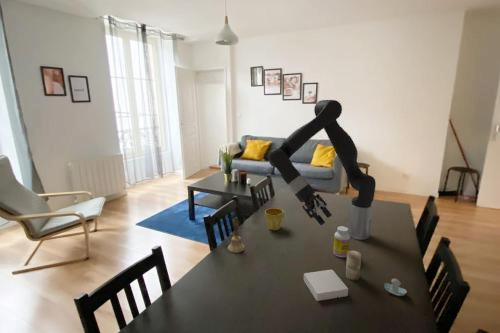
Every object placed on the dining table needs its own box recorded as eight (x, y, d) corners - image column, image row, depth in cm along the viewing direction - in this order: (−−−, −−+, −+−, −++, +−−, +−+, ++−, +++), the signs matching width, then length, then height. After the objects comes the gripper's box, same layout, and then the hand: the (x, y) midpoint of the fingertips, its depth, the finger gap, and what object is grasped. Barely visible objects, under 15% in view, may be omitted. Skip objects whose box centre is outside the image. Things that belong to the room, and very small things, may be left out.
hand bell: (234, 242, 140) (234, 212, 136) (248, 247, 135) (248, 216, 132) (224, 249, 133) (223, 218, 130) (237, 254, 129) (237, 222, 125)
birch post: (354, 271, 115) (356, 249, 113) (361, 279, 110) (364, 256, 108) (343, 273, 114) (344, 251, 112) (349, 281, 109) (351, 258, 107)
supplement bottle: (340, 259, 124) (342, 233, 121) (330, 252, 130) (331, 227, 127) (351, 255, 127) (353, 229, 124) (340, 249, 133) (342, 224, 130)
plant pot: (262, 230, 153) (262, 213, 150) (268, 222, 162) (268, 206, 160) (280, 233, 149) (280, 216, 146) (285, 225, 158) (285, 209, 156)
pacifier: (386, 284, 108) (382, 292, 103) (388, 269, 106) (384, 277, 102) (407, 292, 103) (404, 300, 99) (409, 276, 102) (407, 284, 97)
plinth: (331, 276, 113) (332, 269, 112) (347, 295, 101) (348, 288, 100) (303, 280, 110) (303, 273, 109) (316, 301, 99) (317, 293, 98)
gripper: (300, 187, 109) (327, 221, 106) (313, 179, 121) (338, 209, 117) (288, 198, 113) (313, 231, 110) (301, 189, 125) (325, 218, 121)
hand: (326, 220), depth 113 cm, fingers open, 8 cm apart
